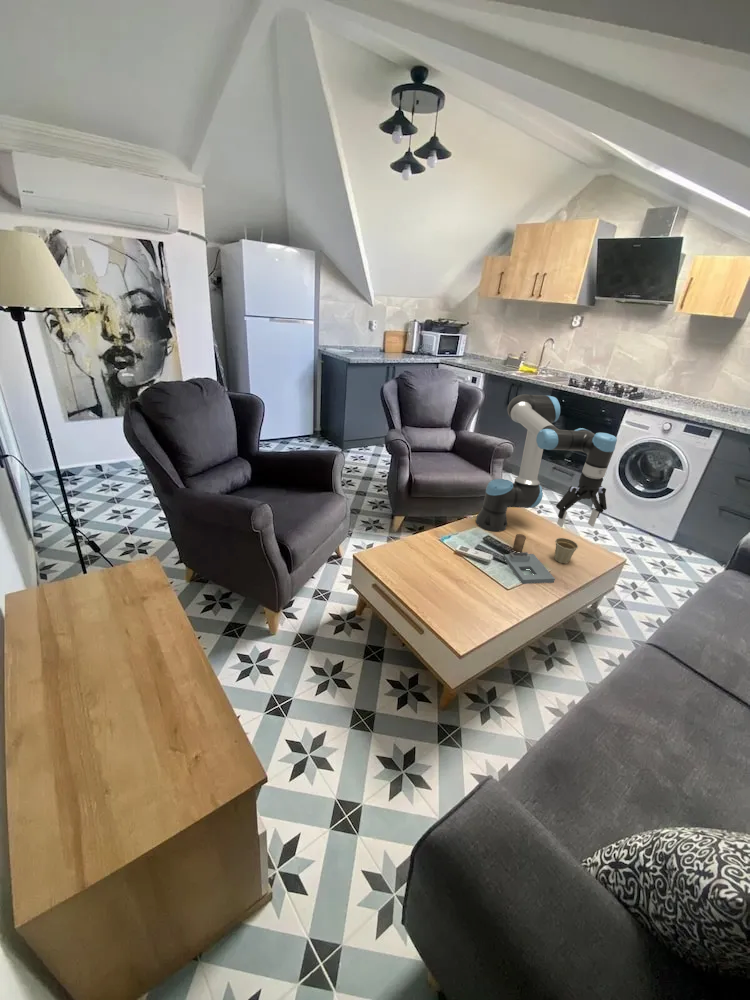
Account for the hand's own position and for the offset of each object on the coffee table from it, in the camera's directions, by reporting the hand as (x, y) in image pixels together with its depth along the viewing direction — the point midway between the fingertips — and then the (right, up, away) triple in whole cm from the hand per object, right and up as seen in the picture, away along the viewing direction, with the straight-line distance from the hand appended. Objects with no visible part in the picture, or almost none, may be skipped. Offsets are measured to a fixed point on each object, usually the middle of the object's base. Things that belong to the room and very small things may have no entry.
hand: (575, 525), depth 162 cm
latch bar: (-16, -16, +17) cm, 28 cm away
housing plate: (-14, -20, +13) cm, 28 cm away
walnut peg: (-14, -14, +26) cm, 33 cm away
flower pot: (+5, -17, +23) cm, 29 cm away
